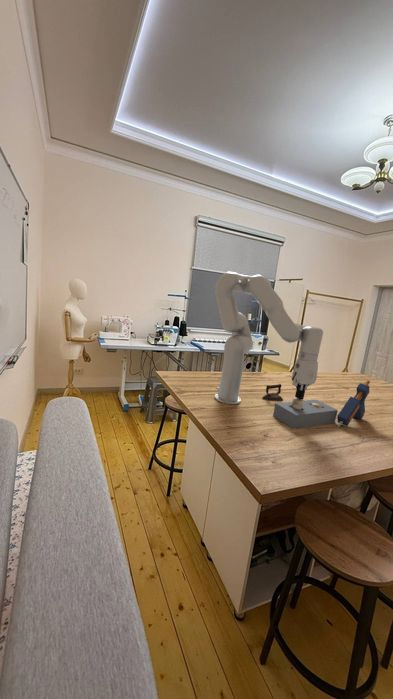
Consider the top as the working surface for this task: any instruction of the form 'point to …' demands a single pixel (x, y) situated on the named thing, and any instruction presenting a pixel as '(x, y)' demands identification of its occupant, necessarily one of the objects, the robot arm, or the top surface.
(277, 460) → the top surface
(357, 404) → the glue gun
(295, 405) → the dowel
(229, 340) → the robot arm
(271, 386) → the clothes iron
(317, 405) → the dowel
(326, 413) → the block
